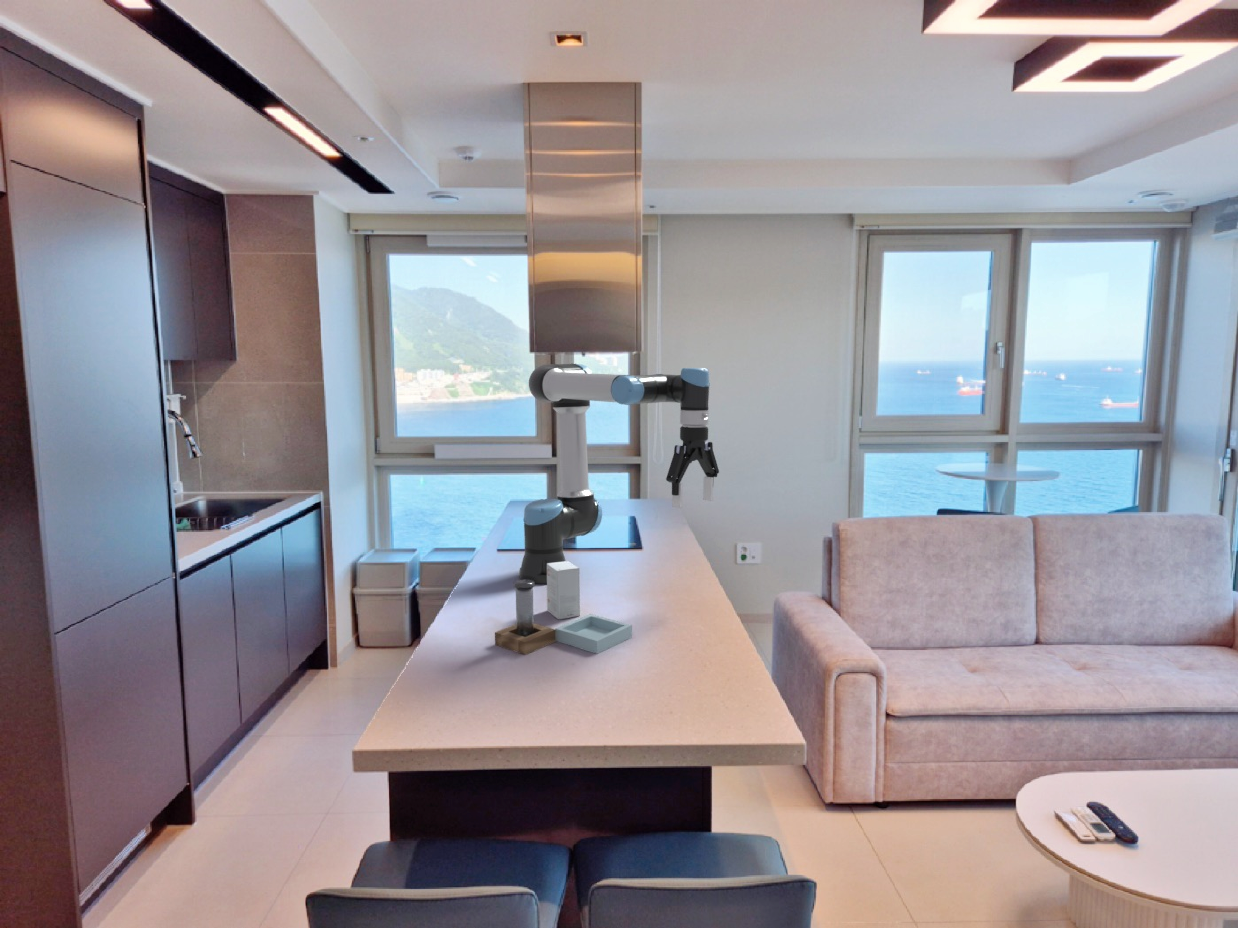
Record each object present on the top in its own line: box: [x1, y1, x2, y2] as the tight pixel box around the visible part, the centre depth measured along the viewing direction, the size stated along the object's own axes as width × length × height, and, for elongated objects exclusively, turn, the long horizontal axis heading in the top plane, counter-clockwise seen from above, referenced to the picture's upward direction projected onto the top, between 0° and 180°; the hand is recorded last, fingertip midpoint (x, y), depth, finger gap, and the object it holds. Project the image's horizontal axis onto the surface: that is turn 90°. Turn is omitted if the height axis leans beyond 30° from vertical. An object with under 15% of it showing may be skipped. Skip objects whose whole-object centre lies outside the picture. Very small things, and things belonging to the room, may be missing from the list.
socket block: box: [494, 623, 556, 656], centre depth 177 cm, size 10×10×3 cm
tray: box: [554, 613, 633, 655], centre depth 180 cm, size 13×13×3 cm
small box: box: [546, 560, 581, 620], centre depth 197 cm, size 8×6×13 cm
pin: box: [513, 579, 536, 637], centre depth 177 cm, size 5×5×15 cm
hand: (692, 503), depth 205 cm, fingers open, 13 cm apart
